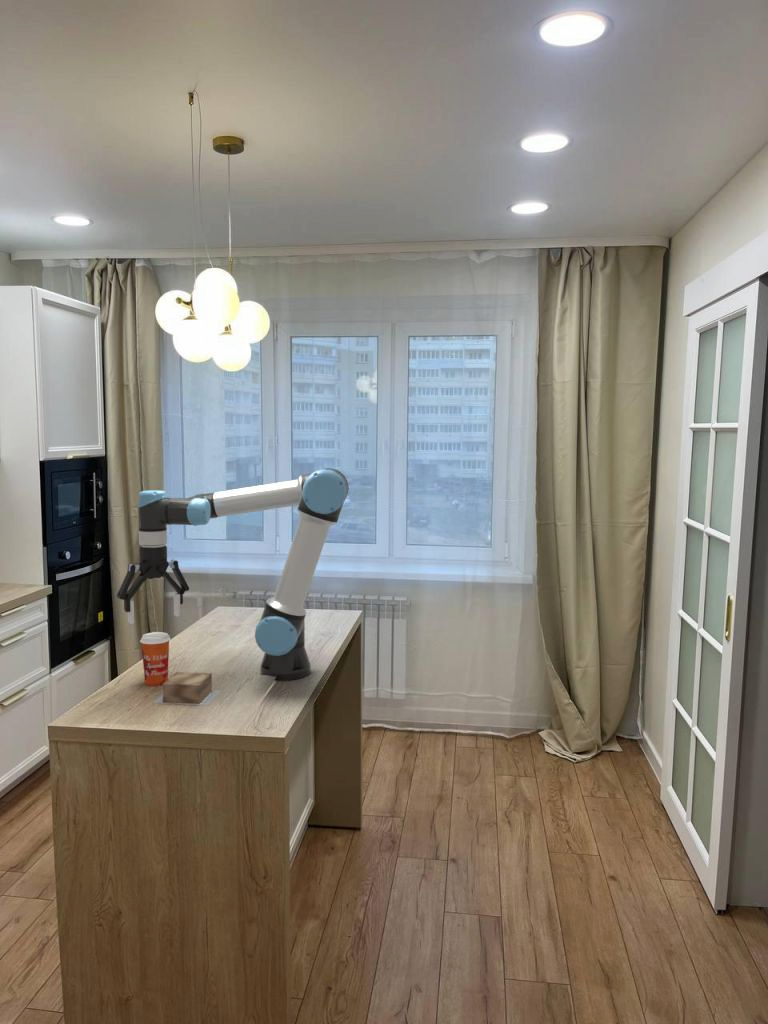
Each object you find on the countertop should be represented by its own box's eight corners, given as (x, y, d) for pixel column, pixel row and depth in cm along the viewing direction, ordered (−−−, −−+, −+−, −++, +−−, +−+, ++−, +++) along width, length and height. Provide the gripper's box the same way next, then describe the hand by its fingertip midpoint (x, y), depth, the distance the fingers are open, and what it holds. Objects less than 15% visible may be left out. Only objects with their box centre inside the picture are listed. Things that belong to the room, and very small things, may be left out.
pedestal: (211, 690, 202) (211, 673, 201) (199, 703, 192) (199, 685, 191) (176, 689, 202) (176, 671, 202) (162, 702, 192) (162, 683, 192)
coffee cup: (140, 692, 204) (139, 640, 202) (142, 682, 211) (140, 632, 210) (171, 689, 206) (170, 638, 204) (172, 680, 214) (171, 630, 212)
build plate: (221, 694, 202) (221, 690, 202) (208, 709, 191) (208, 705, 191) (168, 692, 203) (168, 688, 203) (153, 707, 192) (152, 703, 192)
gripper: (188, 540, 215) (189, 610, 218) (103, 547, 199) (105, 623, 201) (200, 543, 210) (201, 615, 212) (113, 550, 194) (115, 628, 196)
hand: (154, 619), depth 207 cm, fingers open, 13 cm apart
